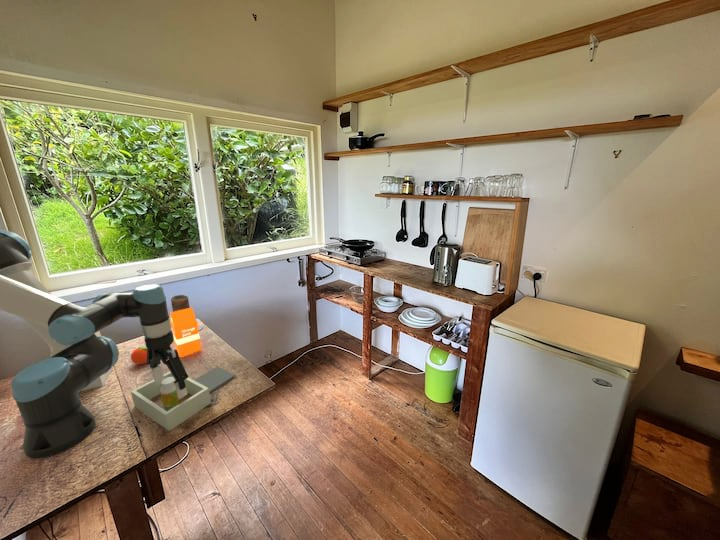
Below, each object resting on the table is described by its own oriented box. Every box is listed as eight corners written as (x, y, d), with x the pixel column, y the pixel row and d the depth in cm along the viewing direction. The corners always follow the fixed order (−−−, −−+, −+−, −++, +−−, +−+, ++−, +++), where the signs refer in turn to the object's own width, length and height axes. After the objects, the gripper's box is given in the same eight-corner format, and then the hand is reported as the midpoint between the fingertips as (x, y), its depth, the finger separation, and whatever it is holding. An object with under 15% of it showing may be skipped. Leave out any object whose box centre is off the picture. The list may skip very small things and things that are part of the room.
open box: (169, 431, 90) (165, 414, 89) (134, 406, 100) (130, 391, 99) (211, 402, 102) (208, 388, 100) (176, 383, 112) (173, 369, 110)
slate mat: (210, 392, 107) (209, 391, 107) (191, 383, 112) (191, 381, 112) (235, 376, 116) (235, 374, 116) (217, 368, 121) (217, 366, 121)
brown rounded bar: (189, 329, 154) (183, 293, 148) (197, 333, 150) (190, 296, 144) (174, 335, 148) (166, 297, 142) (181, 339, 144) (174, 301, 138)
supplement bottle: (171, 412, 98) (166, 387, 95) (159, 408, 100) (154, 383, 97) (185, 401, 103) (181, 377, 100) (174, 397, 105) (169, 374, 102)
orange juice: (175, 350, 134) (167, 309, 129) (197, 343, 140) (190, 304, 134) (180, 357, 129) (171, 315, 123) (202, 350, 134) (195, 309, 129)
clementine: (157, 356, 130) (154, 342, 128) (152, 365, 123) (149, 350, 121) (136, 359, 127) (132, 345, 125) (130, 369, 121) (126, 353, 119)
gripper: (193, 337, 91) (204, 395, 97) (150, 320, 103) (162, 372, 109) (167, 348, 85) (181, 409, 90) (125, 329, 97) (139, 384, 102)
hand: (171, 389), depth 100 cm, fingers open, 13 cm apart
